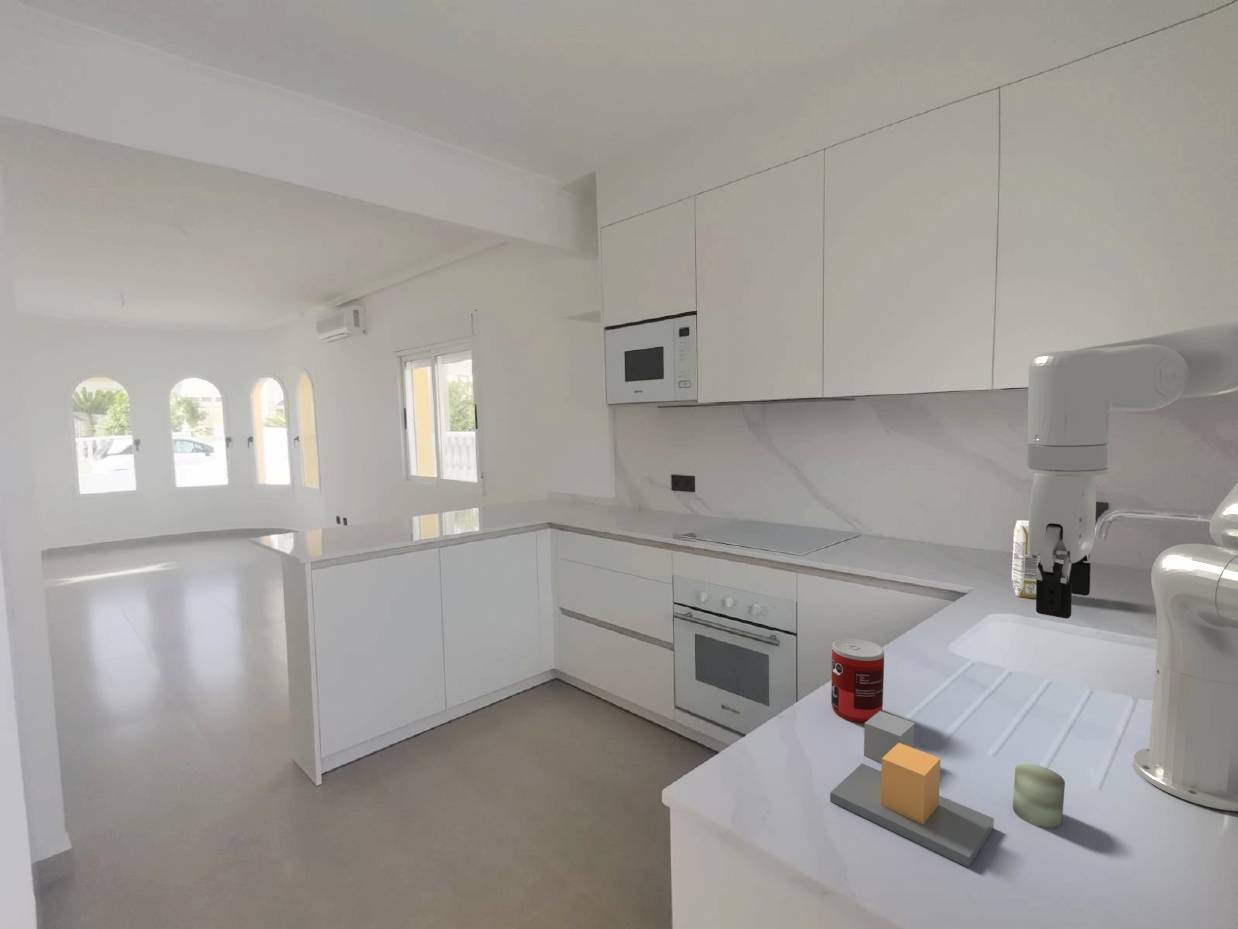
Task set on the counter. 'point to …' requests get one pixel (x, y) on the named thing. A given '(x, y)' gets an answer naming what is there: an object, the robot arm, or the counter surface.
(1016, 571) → the juice carton
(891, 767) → the orange block
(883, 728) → the grey block
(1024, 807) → the sage cylinder
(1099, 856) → the counter surface
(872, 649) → the canned food
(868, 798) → the slate board
